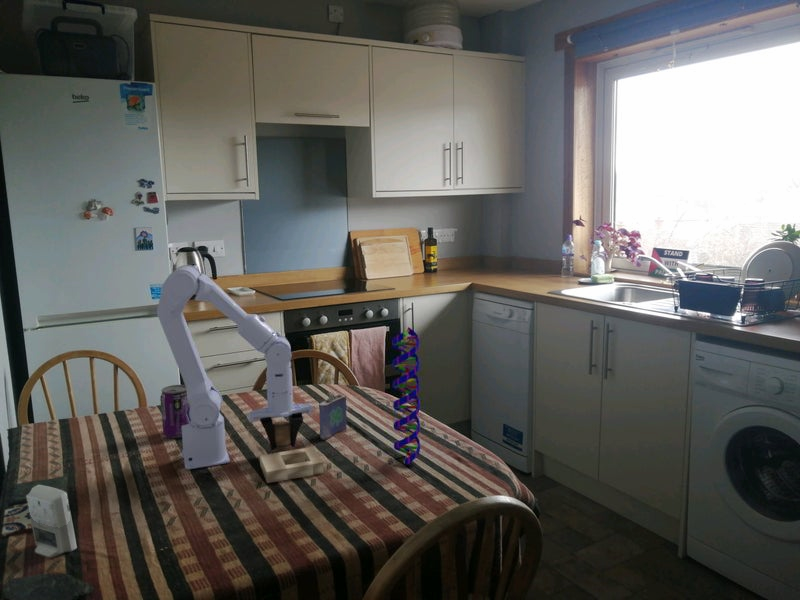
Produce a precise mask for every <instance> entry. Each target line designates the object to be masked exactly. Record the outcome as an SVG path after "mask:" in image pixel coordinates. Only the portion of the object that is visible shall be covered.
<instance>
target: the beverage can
mask: <svg viewBox="0 0 800 600" xmlns="http://www.w3.org/2000/svg"><path fill="white" fill-rule="evenodd" d="M159 400H160V401H159V402H160V410H161V422H162V423H161V425H162V434H163V436H165V437H168V438H171V439H181V438H182V426H183V425H187V424H189V423H190V421H191V419H190V416H189V411H190V405H189V402H188V399H187V389H186V386H185V384H174V385H173V384H171V385H167V386H165V387H163V388H162V389H161V395H160V398H159Z"/></svg>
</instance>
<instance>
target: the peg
mask: <svg viewBox="0 0 800 600" xmlns="http://www.w3.org/2000/svg"><path fill="white" fill-rule="evenodd" d="M273 424H274V431H273V435H274V445H275V450H273V453H278V452H284V451H290V450H293V449H292V446H291V428H290V423H289V421H285V420H283V421H276V422H273Z"/></svg>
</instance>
